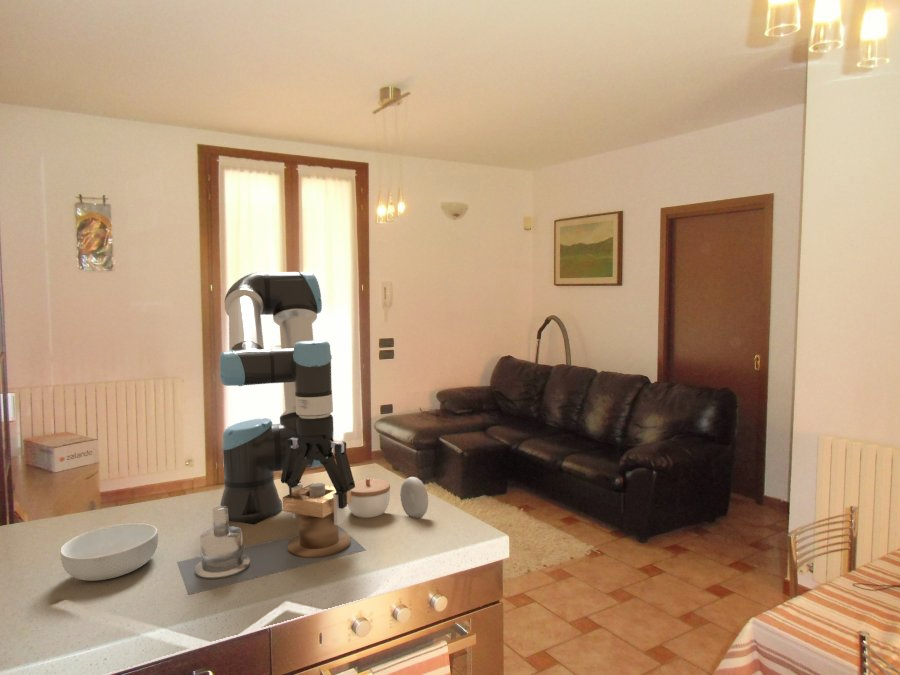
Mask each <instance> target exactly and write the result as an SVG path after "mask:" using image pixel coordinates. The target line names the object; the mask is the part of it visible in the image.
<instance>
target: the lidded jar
mask: <svg viewBox="0 0 900 675" xmlns="http://www.w3.org/2000/svg"><path fill="white" fill-rule="evenodd" d="M354 483H355V488H353V489H351V502H350V503H349V504H347V507H348V510H349V511H350V513H351V514H352V515H353V516H355V517H357V518H365V519H366V518H367V519H368V518H375V517H378V516H381V515H383V514H384V513H385V512H386V511H387V509H388V507H389V504H390V497H391V495H390V493H391V491H390V490H391V484H390V481H389V482H388V480H384V479H378V478H370V477H369V478H368V477H367V478H365V479H358V480H354Z"/></svg>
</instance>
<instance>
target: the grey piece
mask: <svg viewBox="0 0 900 675" xmlns="http://www.w3.org/2000/svg"><path fill="white" fill-rule="evenodd" d="M399 494H400V502H401V506H402V508H403V511H404V513H405V514H406V515H407V516H408V517H409V518H415V519H421V518H423V517H424V516H425V514H426V513H427V511H428V509H429V495H428V490H427V489H426V486H425V483H423V481H422V480H421V479H419V478H418V477H415V476H410V477H408V478H405V479H404V480H403V482H402V483H401V487H400V492H399Z"/></svg>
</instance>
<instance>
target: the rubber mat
mask: <svg viewBox="0 0 900 675" xmlns="http://www.w3.org/2000/svg"><path fill="white" fill-rule="evenodd" d="M338 530H339V531H343V532H345V533H347V534H348V535H349V536H350V539H351V543H350V545H349V547H348V548H347V549H345V550H344V551H342V552H340V553H337V554H334V555H331V556H327V557H321V558H302V557H297V556H294V555H292V554H290V553H289V552H288V542H289V541H290V540H291V539H292V538H294V537H295V536H297V535H298V534H297V535H292V536H287V537H283V538H278V539H273V540H269V541H265V542H261V543H257V544H252V545H247V546H243V554H245V555H247V556H248V557H249V558H250V566H249V567H248V568H247V569H246V570H245V571H244V572H242V573H240V574H238V575H235V576H232V577H228V578H224V579H216V580H208V579H202V578H199V577H197V576H196V574H195V567H196V565H197V564H198V563H199V562H201V556H198V557H193V558H189V559H185V560H181V561H177V562H176V563H177V566H178V568H179V571H180V574H181V578H182V580H183V583H184V586H185V588H186V592H187V594H188V595H194V594H197V593H201V592H205V591H210V590H213V589H217V588H221V587H225V586H229V585H233V584H236V583H242V582H245V581H250V580H252V579H258V578H262V577H266V576H269V575H273V574H276V573H277V574H278V573H280V572H285V571H289V570H293V569H297V568H301V567H305V566H309V565H312V564H313V565H314V564H317V563H320V562H325V561H329V560H332V559H336V558H341V557H345V556H349V555H352V554H357V553H361V552H365V551H367V549H366V548H365V547H364V546H363V545H362V544H360V543H359V541H357V540H356V539H354V538H353V537H352V536H351V534H349V533H348V532H347V531H345V530H344V529H343V528H342V527H341V526H340V525H338Z"/></svg>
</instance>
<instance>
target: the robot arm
mask: <svg viewBox="0 0 900 675" xmlns="http://www.w3.org/2000/svg"><path fill="white" fill-rule="evenodd" d="M322 309H323V302H322V294H321V288H320V285H319V281H318V279H317V277H316V275H315V274H314V273H312V272H309V271H308V272H307V271H299V270H298V271H283V272H282V271H275V272H274V271H270V272H269V271H267V272H265V271H257V272H253V273H249V274H247V275H244V276H243V277H241V278H240V279H238V280H236V281H235V282H234V283H233V284H232V285H231V286H230V287H229V289H228V291H227V292H226V294H225V298H224V310H225V312H226V315H227V316H228V336H229V337H228V346H229V348H228V350H226V351H222V352H221V353H220V354H219V379H220V383H221V384H222V385H223V386H225V387H227V386H229V387H232V386H234V387H235V386H237V387H243V386H253V385H254V386H255V385H266V384H283V392H284V393H283V394H284V407H285V408H284V411H283V413H282V414H281V415H280V417H279V423H274V424H273V421H272V420H271V419H270V418H266V417H264V418H253V419H248V420H245V421H241V422H238V423H234V424H232V425H230V426H228V427H227V428H226V429H224V431H223V432H222V446H221V450H222V453H223V456H222V457H223V479H224V482H223V483H224V489H223V493H222V496H221V500H220V501H221V502H220V506H227V507H228V520H229V523H243V524H248V525H253V526H255V525H257V524H259V523H261V522H264V521H265V520H268V519H269V518H271V517H273V516H275V515H278V514H279V513H281V512H283V500H282V499H281V498H280V496H279V492H278V489H277V487H276V484H275V474H274V473H275V472H281V471H282V472H281V476H280V483H281V484H286V485H287V487H288V490H289V491H288V492H289V494H291V493H293V492H295V491H298V490H300V489H302V488H304V487H303V484H302V481H301V479H302V478H303V475H304V474H305V471H306V469H307V468H310V469H313V468H316V467H323V468H324V469H325V471H326V474H327V475H328V478H329V479H330V482H331V484H332V486H334V488H335V490H336V493H334V494H333V498H334V525H338V526H340V524H342V523H344V522H345V521H346V519H345V517H346V515H345V512H346V511H345V508H346V507H348V504H347V491H349V490H351V489H353V488H355V483H354V481H355V480H354V476H353V473H352V469H351V466H350V462H349V458H348V455H347V443H346V441H341V442H338V441H335V440H334V416H333V415H332V413H333V412H334V405H333V404H334V402H333V390H332V358H333V357H332V354H331V345H330V343H329V341H327V340H314V331H313V324H314V322H315V321H317V318H318V314H320V313H321V311H322ZM262 315H266V316H267V315H269V316H271V315H272V317H273V322H274V323H275V324H276V325H278V327H279V332H280V333H279V334H280V336H279V338H280V347H281V348H269V349H268V348H267V349H265V348H264V347H265V346H264V336H263V329H262V327H263V326H262V318H261V316H262ZM289 494H288V495H289ZM297 518H299V514H296V513H292V519H297Z"/></svg>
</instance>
